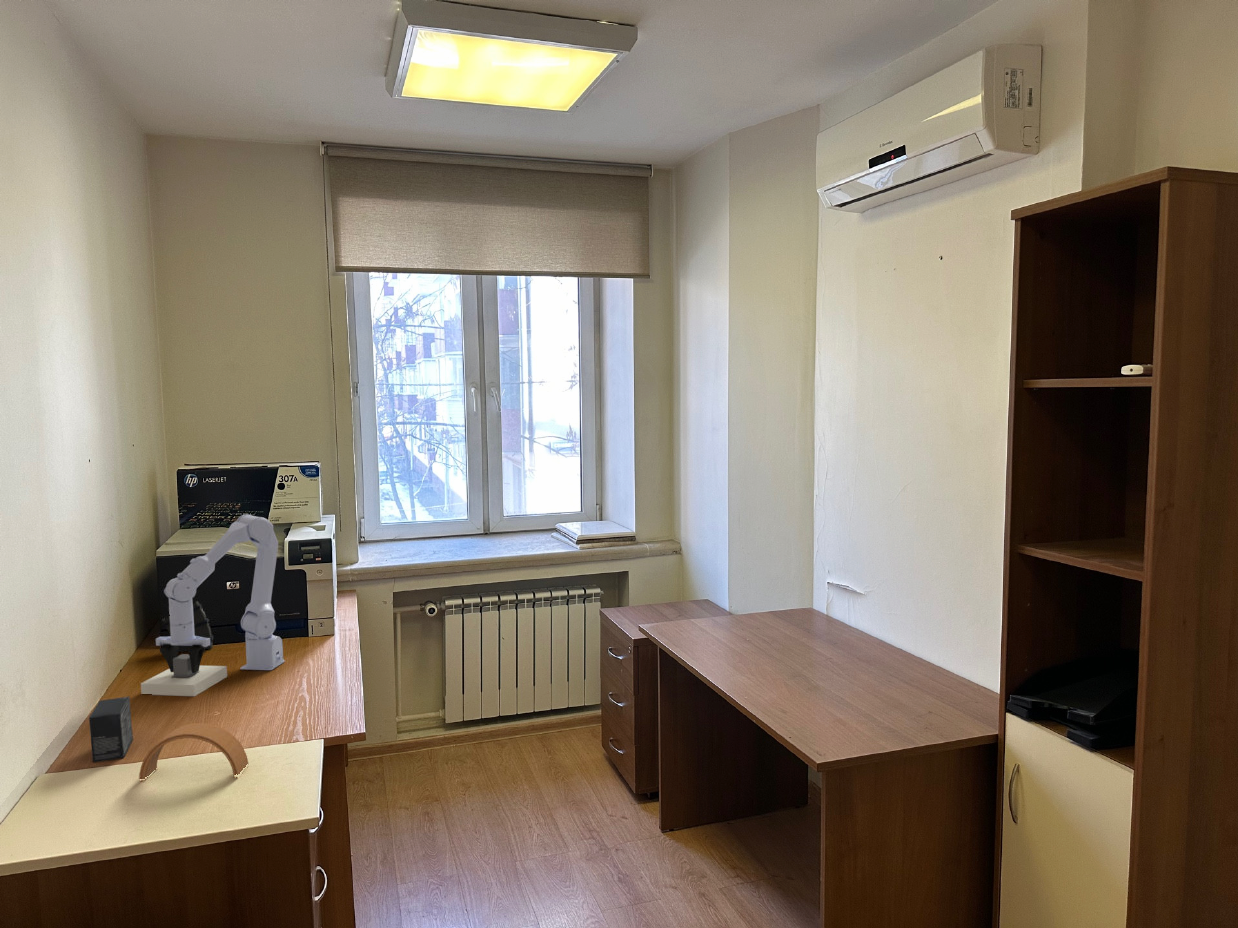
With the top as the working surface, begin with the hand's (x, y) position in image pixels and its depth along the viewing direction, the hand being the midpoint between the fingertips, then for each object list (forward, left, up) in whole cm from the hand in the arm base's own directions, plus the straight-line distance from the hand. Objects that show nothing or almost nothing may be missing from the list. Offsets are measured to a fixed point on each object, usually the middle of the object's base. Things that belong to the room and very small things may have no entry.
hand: (184, 671), depth 228 cm
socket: (0, 0, -4) cm, 4 cm away
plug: (0, 0, -4) cm, 4 cm away
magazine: (+18, -29, -4) cm, 34 cm away
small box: (-9, +40, -4) cm, 42 cm away
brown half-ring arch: (-35, +49, -4) cm, 60 cm away
